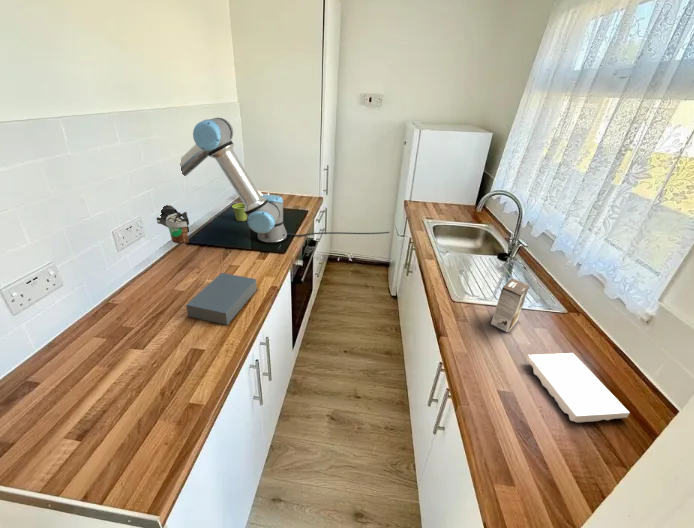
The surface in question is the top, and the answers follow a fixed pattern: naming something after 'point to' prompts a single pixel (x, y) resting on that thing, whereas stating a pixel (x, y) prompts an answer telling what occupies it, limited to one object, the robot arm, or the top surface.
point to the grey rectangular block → (222, 298)
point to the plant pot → (240, 212)
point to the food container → (177, 229)
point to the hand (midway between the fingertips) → (186, 229)
